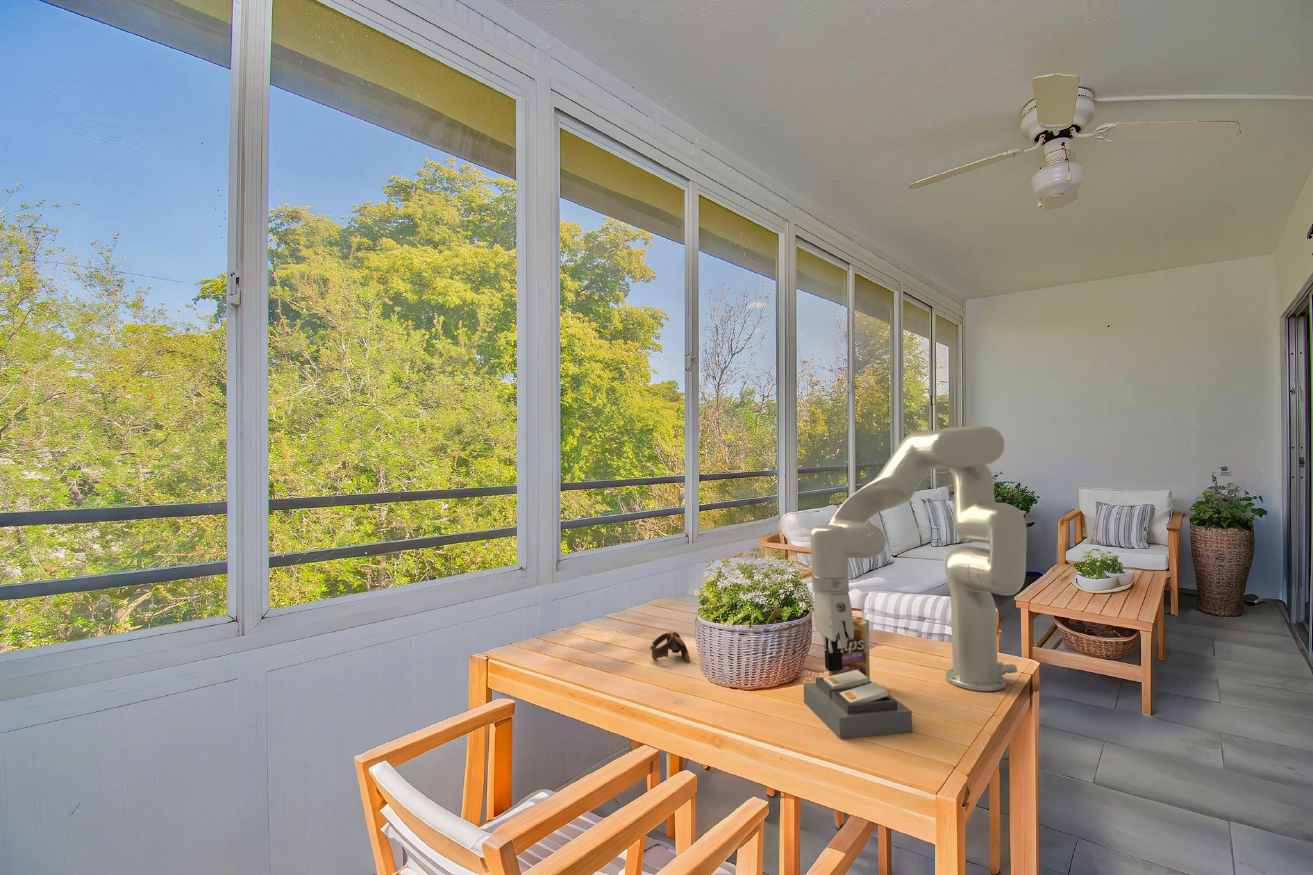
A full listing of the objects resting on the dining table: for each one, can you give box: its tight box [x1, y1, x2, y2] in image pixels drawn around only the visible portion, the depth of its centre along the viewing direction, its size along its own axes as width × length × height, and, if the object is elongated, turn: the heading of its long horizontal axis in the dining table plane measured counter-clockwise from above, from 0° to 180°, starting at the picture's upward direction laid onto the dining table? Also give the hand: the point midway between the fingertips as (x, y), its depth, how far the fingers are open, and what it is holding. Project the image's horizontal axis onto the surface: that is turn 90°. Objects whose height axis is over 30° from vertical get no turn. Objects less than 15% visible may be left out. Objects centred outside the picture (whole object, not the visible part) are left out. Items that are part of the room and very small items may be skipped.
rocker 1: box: [823, 670, 869, 689], centre depth 136 cm, size 8×5×1 cm, turn 99°
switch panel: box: [803, 676, 913, 740], centre depth 132 cm, size 15×18×6 cm
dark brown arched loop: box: [649, 631, 691, 664], centre depth 170 cm, size 12×10×8 cm
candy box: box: [828, 617, 871, 681], centre depth 150 cm, size 9×4×15 cm, turn 60°
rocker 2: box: [839, 681, 889, 704], centre depth 128 cm, size 8×5×1 cm, turn 99°
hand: (833, 669), depth 136 cm, fingers closed
